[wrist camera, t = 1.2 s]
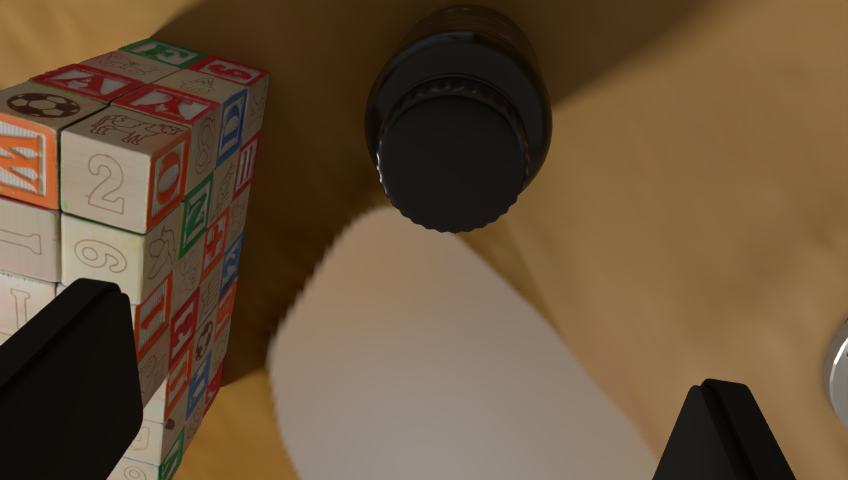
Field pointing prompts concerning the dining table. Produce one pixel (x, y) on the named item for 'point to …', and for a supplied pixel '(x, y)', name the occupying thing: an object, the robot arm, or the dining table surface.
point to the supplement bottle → (459, 119)
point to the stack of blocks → (135, 215)
